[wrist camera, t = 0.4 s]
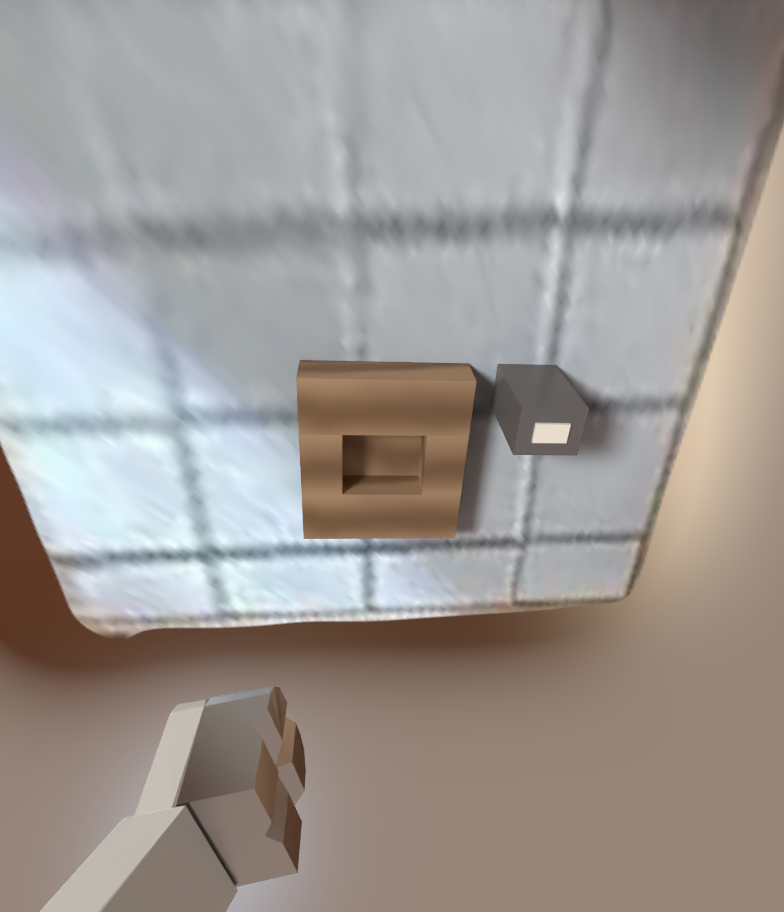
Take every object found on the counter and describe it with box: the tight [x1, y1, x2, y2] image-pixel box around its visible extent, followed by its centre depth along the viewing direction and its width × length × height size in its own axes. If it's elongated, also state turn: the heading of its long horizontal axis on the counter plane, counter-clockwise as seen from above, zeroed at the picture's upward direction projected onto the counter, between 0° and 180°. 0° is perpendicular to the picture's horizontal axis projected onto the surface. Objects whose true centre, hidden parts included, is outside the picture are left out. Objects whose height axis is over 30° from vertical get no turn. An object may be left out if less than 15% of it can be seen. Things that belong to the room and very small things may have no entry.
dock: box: [296, 360, 477, 539], centre depth 50 cm, size 16×14×4 cm
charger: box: [491, 364, 589, 455], centre depth 45 cm, size 4×5×8 cm
